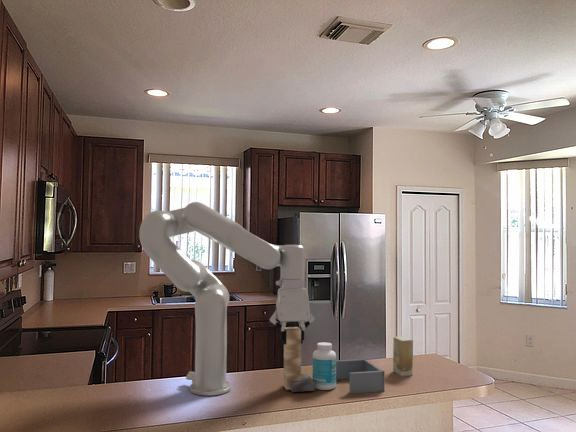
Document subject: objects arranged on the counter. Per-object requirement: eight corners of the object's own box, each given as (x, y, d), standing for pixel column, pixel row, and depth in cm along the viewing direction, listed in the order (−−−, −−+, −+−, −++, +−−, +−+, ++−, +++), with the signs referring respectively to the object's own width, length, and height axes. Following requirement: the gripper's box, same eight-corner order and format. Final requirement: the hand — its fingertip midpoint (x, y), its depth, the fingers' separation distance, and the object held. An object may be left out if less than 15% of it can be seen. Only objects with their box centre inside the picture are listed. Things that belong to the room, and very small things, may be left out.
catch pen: (350, 393, 142) (350, 373, 142) (334, 378, 156) (335, 360, 157) (384, 391, 144) (384, 371, 144) (365, 376, 159) (365, 358, 159)
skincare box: (392, 371, 166) (392, 336, 166) (403, 370, 167) (403, 335, 167) (402, 376, 159) (402, 340, 160) (413, 375, 161) (413, 339, 161)
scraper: (288, 392, 141) (288, 331, 141) (282, 383, 149) (282, 326, 150) (314, 390, 142) (314, 330, 143) (307, 381, 151) (307, 325, 152)
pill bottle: (337, 391, 144) (337, 346, 145) (312, 390, 144) (313, 346, 145) (335, 383, 151) (335, 341, 152) (312, 383, 152) (312, 340, 152)
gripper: (267, 286, 141) (267, 347, 141) (321, 284, 145) (321, 344, 144) (263, 283, 149) (263, 341, 148) (315, 282, 152) (315, 339, 152)
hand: (292, 342), depth 146 cm, fingers closed on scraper, 4 cm apart
